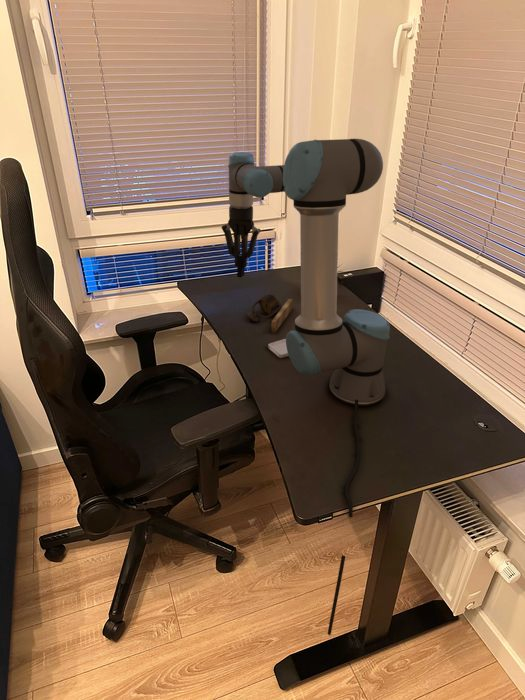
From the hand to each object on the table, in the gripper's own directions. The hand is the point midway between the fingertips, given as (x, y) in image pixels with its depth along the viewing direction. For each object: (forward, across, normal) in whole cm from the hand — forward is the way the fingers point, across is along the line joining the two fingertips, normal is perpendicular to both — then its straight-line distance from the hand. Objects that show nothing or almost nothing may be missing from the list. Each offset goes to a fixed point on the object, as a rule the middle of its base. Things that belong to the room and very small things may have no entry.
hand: (240, 275), depth 169 cm
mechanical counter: (+14, -8, -1) cm, 16 cm away
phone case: (+14, -24, +15) cm, 32 cm away
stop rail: (+14, -15, 0) cm, 21 cm away
